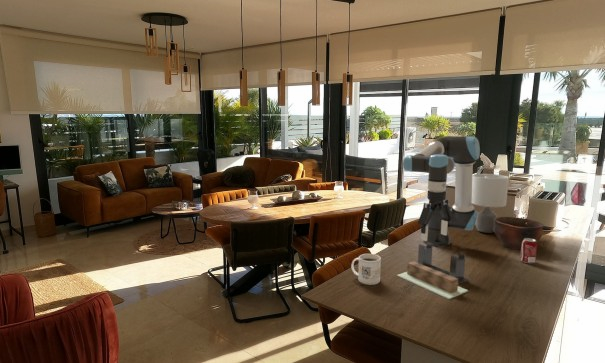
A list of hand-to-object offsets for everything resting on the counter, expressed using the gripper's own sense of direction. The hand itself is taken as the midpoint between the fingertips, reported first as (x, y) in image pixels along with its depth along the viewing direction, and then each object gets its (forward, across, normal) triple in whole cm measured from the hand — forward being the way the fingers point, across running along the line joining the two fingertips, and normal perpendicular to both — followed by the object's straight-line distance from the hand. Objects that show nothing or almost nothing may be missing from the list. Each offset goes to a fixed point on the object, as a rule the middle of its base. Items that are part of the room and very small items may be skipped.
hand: (434, 237), depth 169 cm
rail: (+20, -1, -1) cm, 21 cm away
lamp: (+22, +94, +30) cm, 101 cm away
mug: (+21, -22, +18) cm, 36 cm away
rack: (+21, +12, +4) cm, 24 cm away
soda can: (+22, +62, -12) cm, 66 cm away
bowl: (+22, +80, +4) cm, 84 cm away
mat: (+21, -2, -1) cm, 21 cm away
